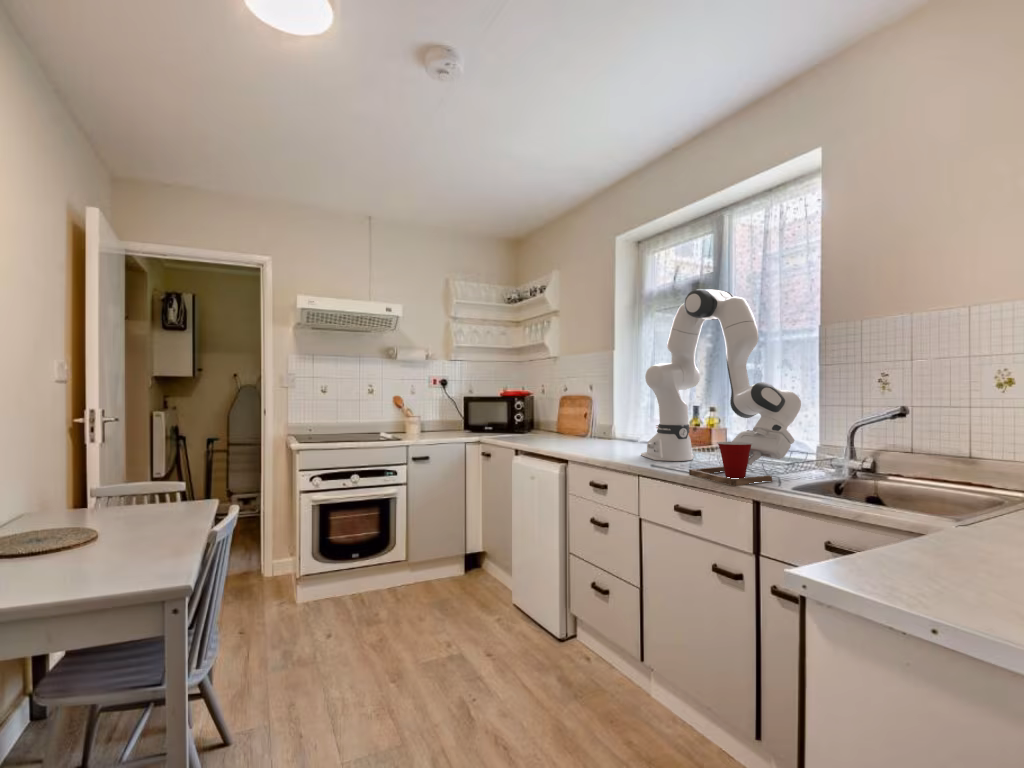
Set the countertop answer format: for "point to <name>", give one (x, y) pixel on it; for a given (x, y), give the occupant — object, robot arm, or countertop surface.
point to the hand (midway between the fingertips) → (746, 463)
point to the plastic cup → (735, 458)
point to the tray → (733, 482)
